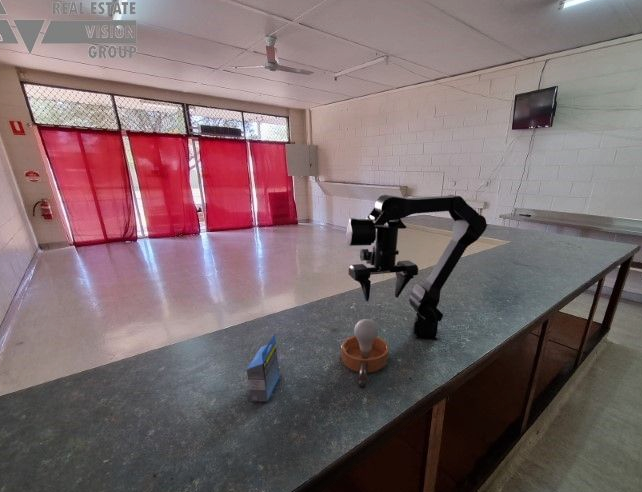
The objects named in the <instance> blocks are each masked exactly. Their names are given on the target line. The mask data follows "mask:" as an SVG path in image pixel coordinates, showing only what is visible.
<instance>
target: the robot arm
mask: <svg viewBox="0 0 642 492" xmlns="http://www.w3.org/2000/svg"><path fill="white" fill-rule="evenodd" d="M442 212H443V213H444V212H448V213H449V215H450V218H451V219H452V220H453V221H454V224H453V227H452V233H451V239H450V240H449V242H448V244H447V246H446V248H445V249H444V250H443V252H442V254H441V256H440V257H439V259H438V261H437V262H436V264H435V265H434V268H433V269H432V270H431V272H430V273H429V275H428V277H427V279H426V280H425V281H424V282H423V283H421V284H419V283H418V282H417V283H415V285H414V287H413V288H412V291H410V293H409V295H410V296H409V299H408V302H409V305H410V306H411V307H412V309H413V310H414V312H416V314H415V317H414V318H413V326H412V327H413V328H412V330H413V334H414V335H415V339H418V340H419V339H420V340H422V339H424V340H438V338H439V337H438V327H439V322H442V320H443V318H444V314H443V313H442V312H441V311H440V310H439V308H438V305H439V303H440V300H441V299H440V298H441V292H442V289H443V288H444V285H445V283H446V282H447V280H448V279H449V277H450V275H451V274H452V273H453V271H454V269H455V267H457V264H458V263H459V261H460V260H461V258H462V256H463V254H464V253H465V251H466V250H467V248H468V247H469V246H470V245H473V244H474V243H475V242H477V241H478V240H479V239H480V237H481V236H482V235H483V234H484V233H485V232H486V229H487V227H488V224H487V218H486V217H485V216H484V215H482V214H480V213H479V212H478V211H477V210H475V209H474V208H473V207H472V206H471V205H470V204H468V203H467V202H466V200H465V199H464V198H463V197H462V196H460V195H456V194H448V195H439V196H424V197H423V196H422V197H403V196H398V195H391V194H383V195H380V196H379V197H378V198H377V199H376V201H375V203H374V207H373V208H372V210H371V211H370V213H369V214H368V215H367V217H366V218H356V217H355V218H354V217H350V218H349V219H348V224H347V228H346V231H345V233H346V234H345V237H346V243H347V245H348V246H349V247H355V246H356V247H357V246H358V247H361V246H362V247H363V246H371V245H372V244H374V243H375V244H374V245H373V246H372V251H369V249H368V248H361V249H360V250H359V259H360V261H361V262H363V261H365V264H366V265H368V264H369V265H370V267H367V266H366V265H365V264H364V263H357V264H351V265H350V266H349V267H348V276H349V277H350V278H352V279H353V280H354V281H355V282H358V283H359V284H360V287H361V290H362V293H363V296H364V300H365V302H369V300H370V297H371V296H370V294H371V285H372V281H371V280H370V278H371V276H372V275H383V274H392V273H393V274H395V277H396V279H395V280H396V281H395V289H394V297H395V298H396V299H397V298H399V296H400V295H401V293H402V292H403V290H404V289H405V287H406V286H407V285H408V284H409V282H410V281H411V280H412V279H414V277H415V276H418V275H419V269H420V268H419V267H418V265H417V264H416V263H415V262H412V261H411V260H398V261H397V262H396V260H397V256H398V255H399V253H400V251H399V249H397V247H398V237H399V230H401V229H402V230H403V229H404V230H405V229H407V225H406V224H405V223H404V222H403V221H402V219H405V218H407V217H409V216H411V215H417V214H428V213H442ZM371 266H372V267H371Z"/></svg>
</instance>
